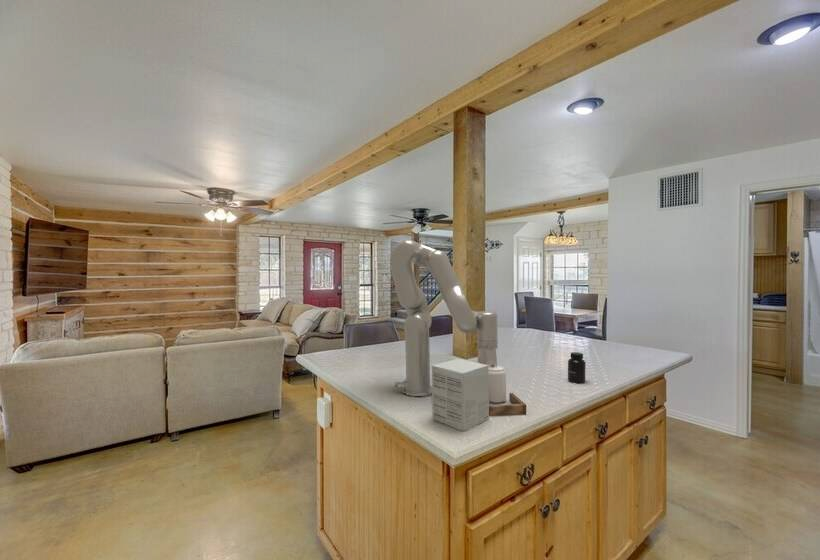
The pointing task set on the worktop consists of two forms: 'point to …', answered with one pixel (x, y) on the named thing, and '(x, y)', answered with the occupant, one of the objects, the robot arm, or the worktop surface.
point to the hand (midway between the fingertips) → (488, 391)
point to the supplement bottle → (576, 368)
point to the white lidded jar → (497, 384)
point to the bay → (508, 407)
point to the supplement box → (460, 393)
